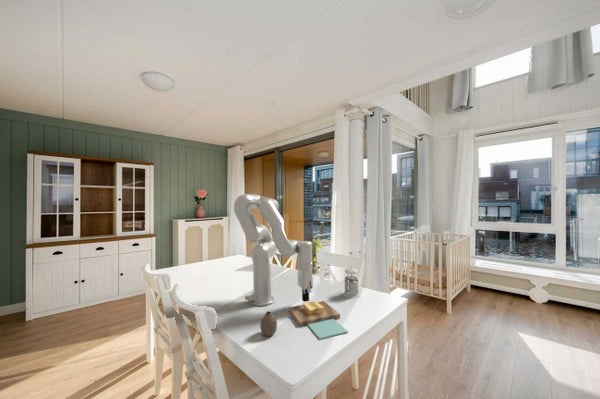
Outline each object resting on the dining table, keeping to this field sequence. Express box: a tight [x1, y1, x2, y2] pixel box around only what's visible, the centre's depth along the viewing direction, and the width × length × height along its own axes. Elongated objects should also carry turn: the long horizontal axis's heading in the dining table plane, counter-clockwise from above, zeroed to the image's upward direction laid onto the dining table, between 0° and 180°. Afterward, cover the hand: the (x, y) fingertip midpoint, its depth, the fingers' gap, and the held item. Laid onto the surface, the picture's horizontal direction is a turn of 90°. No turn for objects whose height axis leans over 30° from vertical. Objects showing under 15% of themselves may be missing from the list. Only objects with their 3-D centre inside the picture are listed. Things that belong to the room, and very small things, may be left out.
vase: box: [259, 311, 278, 337], centre depth 102 cm, size 7×7×9 cm
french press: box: [342, 251, 361, 299], centre depth 144 cm, size 10×12×25 cm
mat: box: [307, 319, 349, 341], centre depth 106 cm, size 13×12×1 cm
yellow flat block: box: [302, 300, 324, 316], centre depth 119 cm, size 7×8×2 cm
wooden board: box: [287, 300, 341, 328], centre depth 119 cm, size 20×16×2 cm
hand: (305, 300), depth 128 cm, fingers closed
